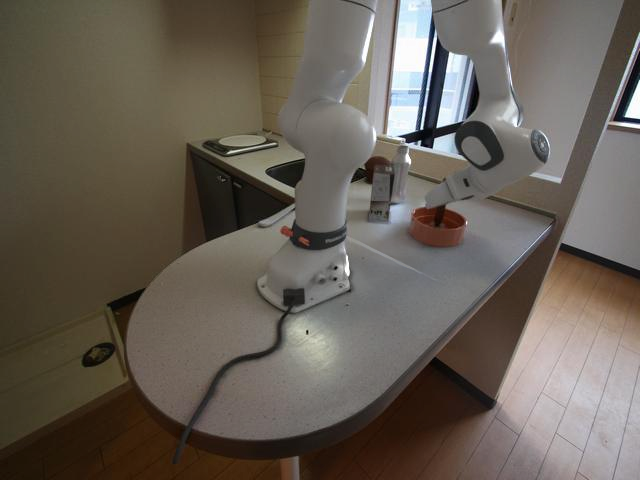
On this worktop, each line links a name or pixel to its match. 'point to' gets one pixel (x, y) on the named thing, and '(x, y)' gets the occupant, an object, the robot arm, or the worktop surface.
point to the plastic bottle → (400, 174)
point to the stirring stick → (439, 216)
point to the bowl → (437, 236)
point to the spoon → (275, 217)
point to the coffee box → (381, 192)
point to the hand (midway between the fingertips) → (439, 203)
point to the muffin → (371, 164)
